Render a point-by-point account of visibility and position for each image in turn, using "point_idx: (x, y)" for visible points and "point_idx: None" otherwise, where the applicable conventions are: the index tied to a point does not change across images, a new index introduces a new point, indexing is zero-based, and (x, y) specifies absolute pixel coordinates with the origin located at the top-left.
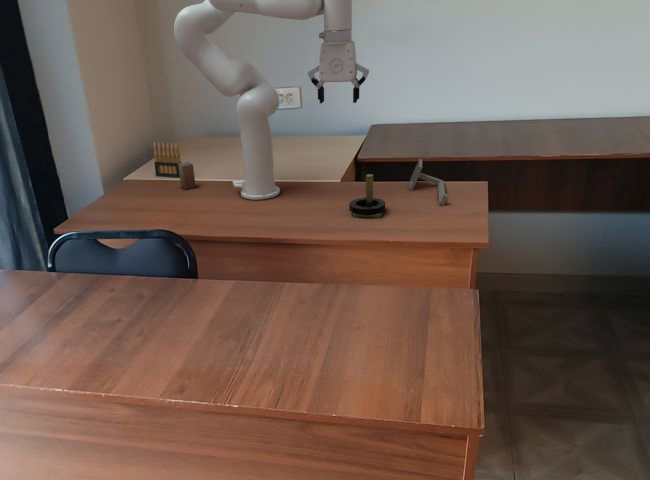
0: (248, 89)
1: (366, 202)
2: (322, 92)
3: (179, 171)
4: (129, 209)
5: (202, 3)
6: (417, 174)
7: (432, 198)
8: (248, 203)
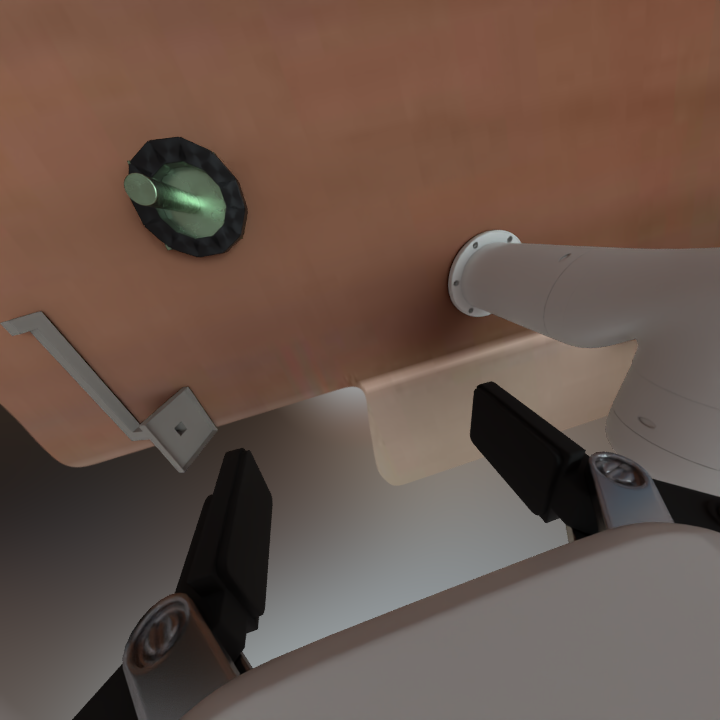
0: None
1: (185, 191)
2: (526, 448)
3: None
4: None
5: None
6: (157, 411)
7: (100, 352)
8: (497, 206)
